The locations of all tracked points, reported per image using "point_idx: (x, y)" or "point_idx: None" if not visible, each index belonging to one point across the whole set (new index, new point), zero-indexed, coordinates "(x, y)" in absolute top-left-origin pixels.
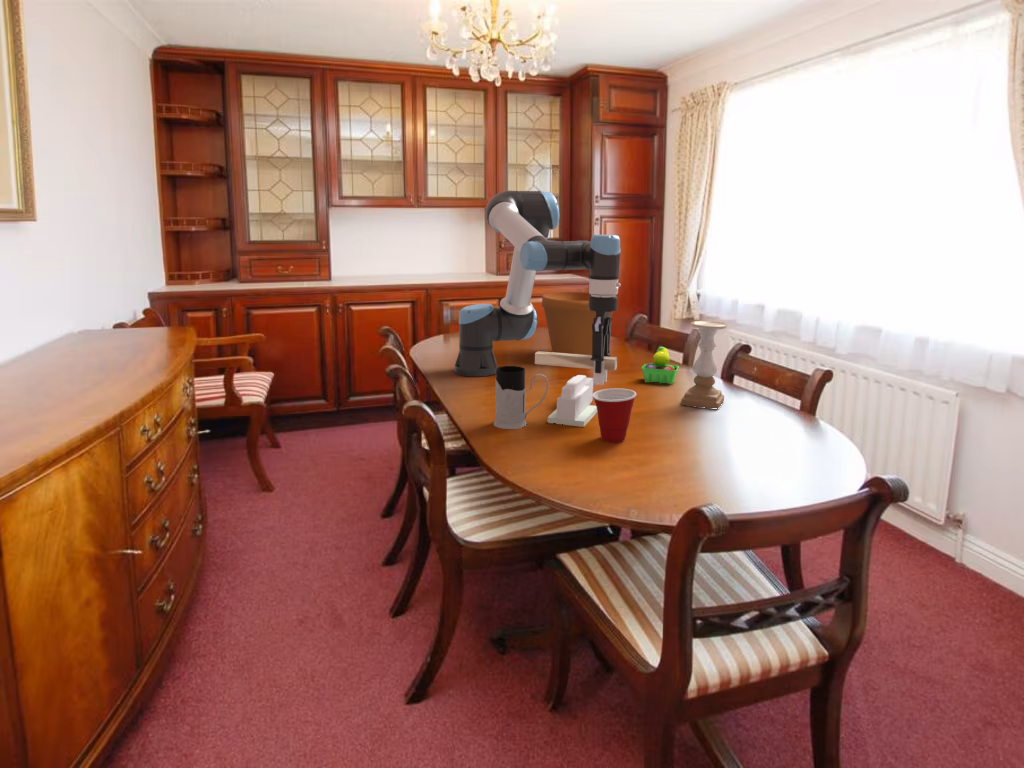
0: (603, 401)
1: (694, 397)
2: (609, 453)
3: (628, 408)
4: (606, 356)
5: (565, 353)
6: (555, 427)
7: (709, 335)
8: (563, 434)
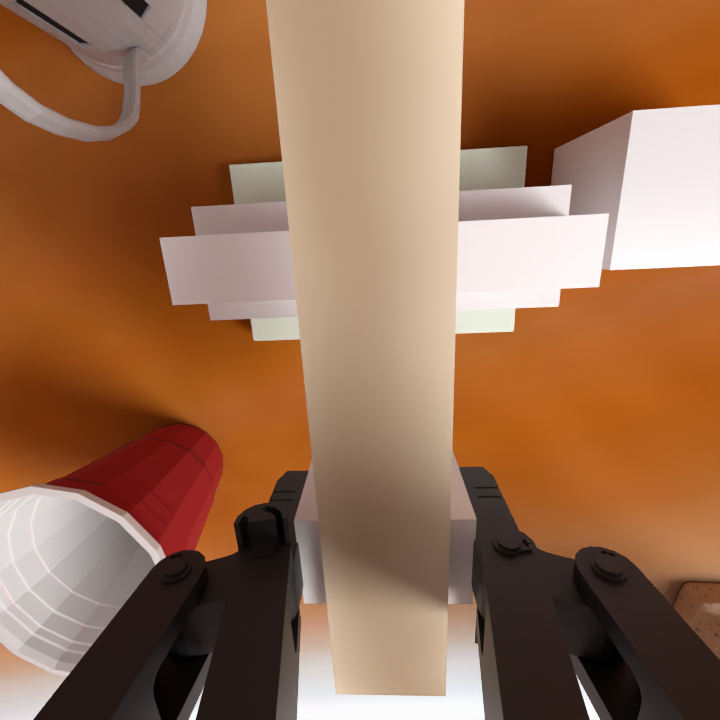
0: None
1: None
2: (57, 475)
3: (88, 603)
4: (477, 608)
5: (455, 85)
6: None
7: None
8: (135, 290)
